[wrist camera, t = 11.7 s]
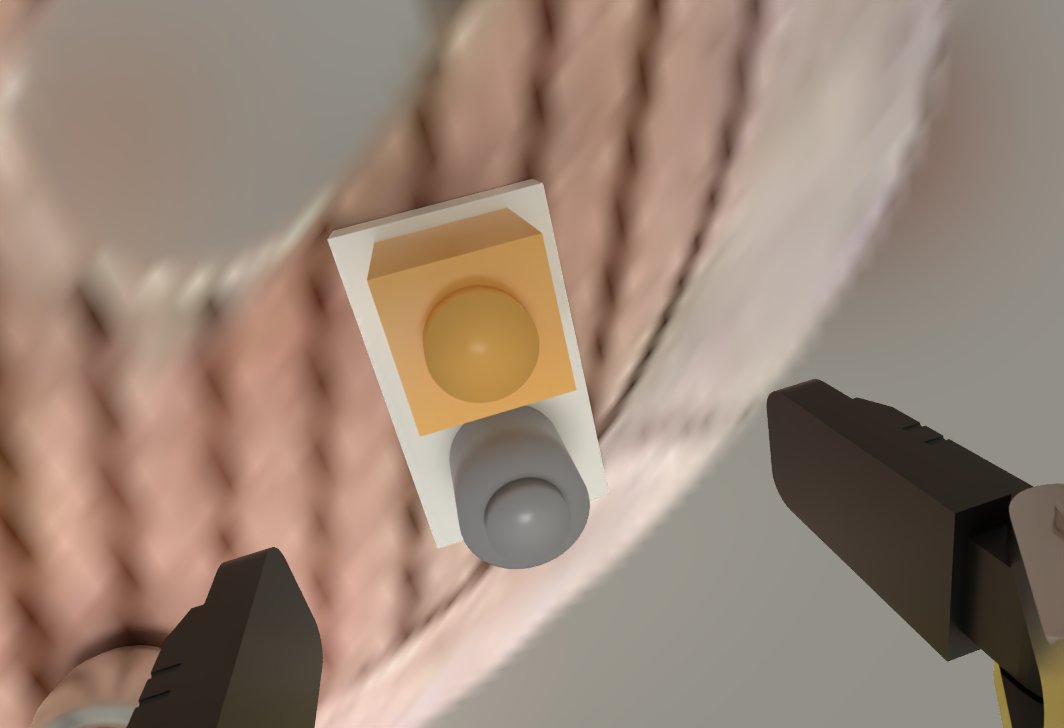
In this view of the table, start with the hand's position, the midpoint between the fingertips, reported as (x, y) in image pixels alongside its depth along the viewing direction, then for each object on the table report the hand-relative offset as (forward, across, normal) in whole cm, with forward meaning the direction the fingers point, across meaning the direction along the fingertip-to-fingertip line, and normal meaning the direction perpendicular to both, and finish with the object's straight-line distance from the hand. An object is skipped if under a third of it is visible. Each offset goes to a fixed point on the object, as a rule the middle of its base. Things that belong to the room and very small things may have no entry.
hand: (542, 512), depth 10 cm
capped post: (+15, 0, +8) cm, 17 cm away
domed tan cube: (+15, 0, 0) cm, 15 cm away
